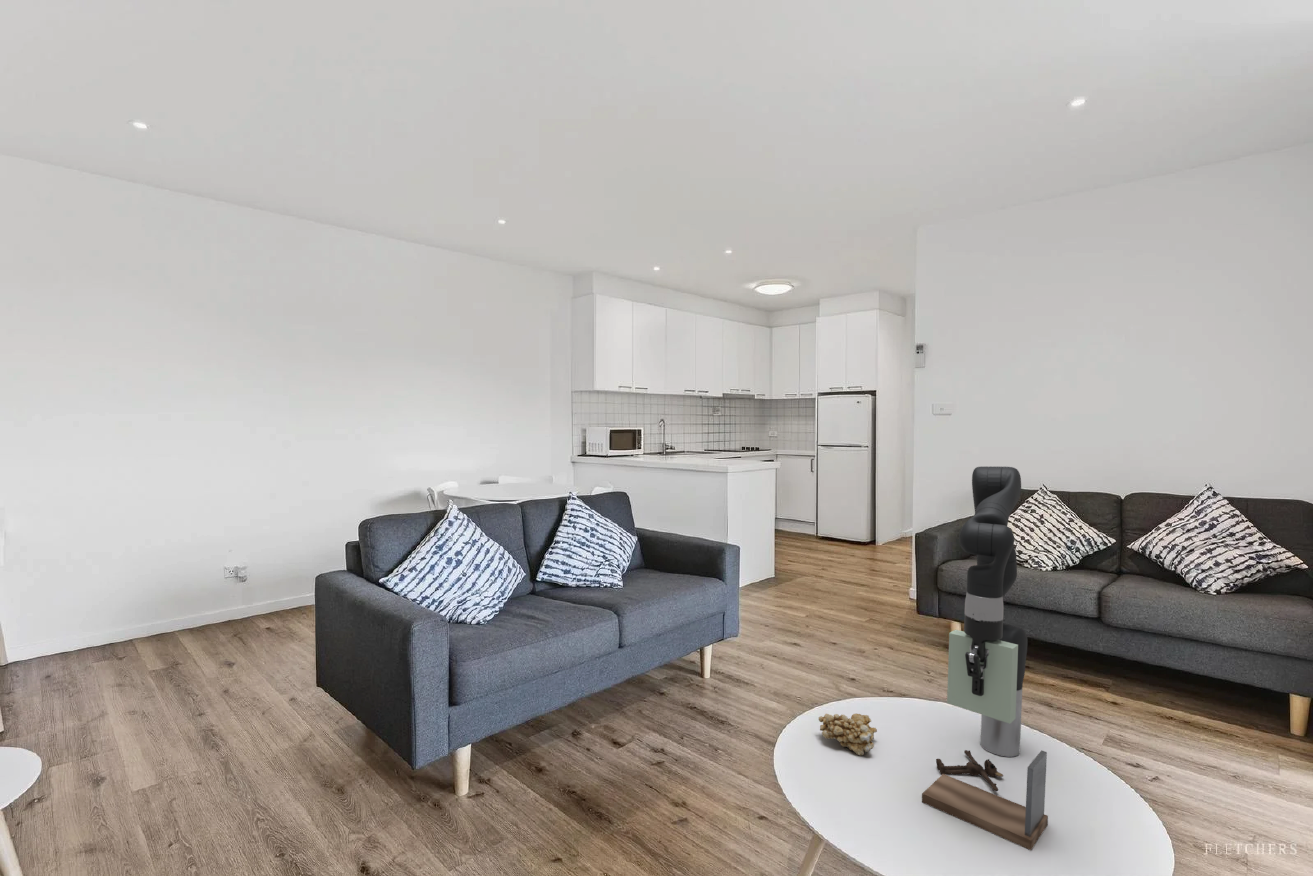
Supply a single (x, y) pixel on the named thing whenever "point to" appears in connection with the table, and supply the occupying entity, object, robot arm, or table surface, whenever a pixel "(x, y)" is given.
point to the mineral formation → (849, 731)
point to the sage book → (996, 681)
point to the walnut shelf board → (982, 810)
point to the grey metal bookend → (1035, 793)
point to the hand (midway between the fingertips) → (981, 691)
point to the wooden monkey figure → (971, 769)
